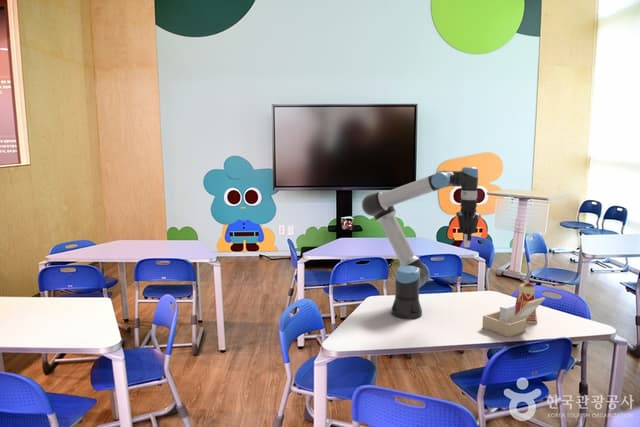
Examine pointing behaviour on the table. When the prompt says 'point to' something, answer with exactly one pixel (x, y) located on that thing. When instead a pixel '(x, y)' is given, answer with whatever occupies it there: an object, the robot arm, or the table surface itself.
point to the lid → (527, 310)
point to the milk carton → (526, 300)
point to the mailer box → (504, 322)
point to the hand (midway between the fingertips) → (466, 246)
